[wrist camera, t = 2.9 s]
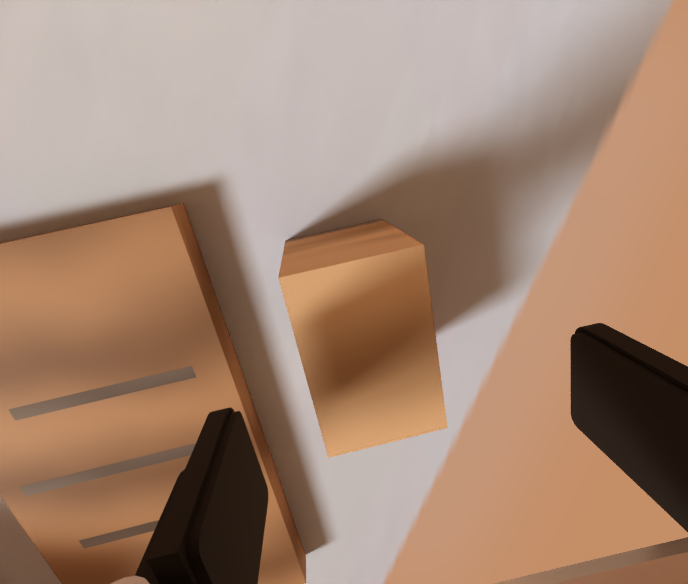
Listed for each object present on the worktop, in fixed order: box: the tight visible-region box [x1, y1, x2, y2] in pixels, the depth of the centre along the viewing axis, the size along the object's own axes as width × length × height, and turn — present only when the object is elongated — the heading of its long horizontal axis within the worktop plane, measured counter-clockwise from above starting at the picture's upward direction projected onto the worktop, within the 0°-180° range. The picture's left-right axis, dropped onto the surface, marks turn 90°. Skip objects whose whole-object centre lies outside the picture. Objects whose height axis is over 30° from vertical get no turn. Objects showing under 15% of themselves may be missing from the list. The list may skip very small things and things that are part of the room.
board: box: [0, 203, 306, 584], centre depth 18 cm, size 22×12×2 cm, turn 12°
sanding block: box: [278, 219, 447, 458], centre depth 15 cm, size 7×4×6 cm, turn 12°
